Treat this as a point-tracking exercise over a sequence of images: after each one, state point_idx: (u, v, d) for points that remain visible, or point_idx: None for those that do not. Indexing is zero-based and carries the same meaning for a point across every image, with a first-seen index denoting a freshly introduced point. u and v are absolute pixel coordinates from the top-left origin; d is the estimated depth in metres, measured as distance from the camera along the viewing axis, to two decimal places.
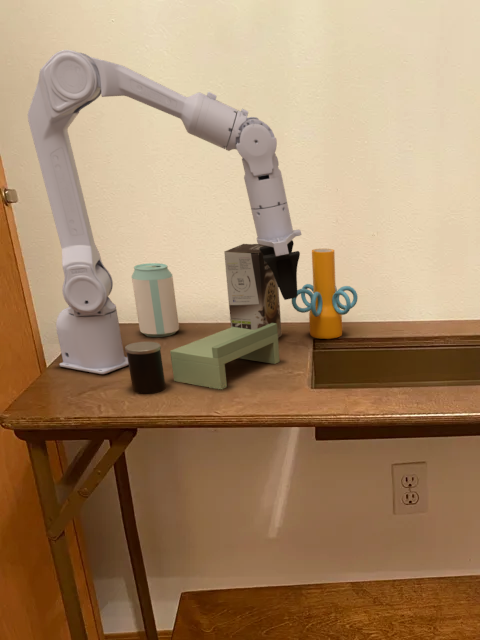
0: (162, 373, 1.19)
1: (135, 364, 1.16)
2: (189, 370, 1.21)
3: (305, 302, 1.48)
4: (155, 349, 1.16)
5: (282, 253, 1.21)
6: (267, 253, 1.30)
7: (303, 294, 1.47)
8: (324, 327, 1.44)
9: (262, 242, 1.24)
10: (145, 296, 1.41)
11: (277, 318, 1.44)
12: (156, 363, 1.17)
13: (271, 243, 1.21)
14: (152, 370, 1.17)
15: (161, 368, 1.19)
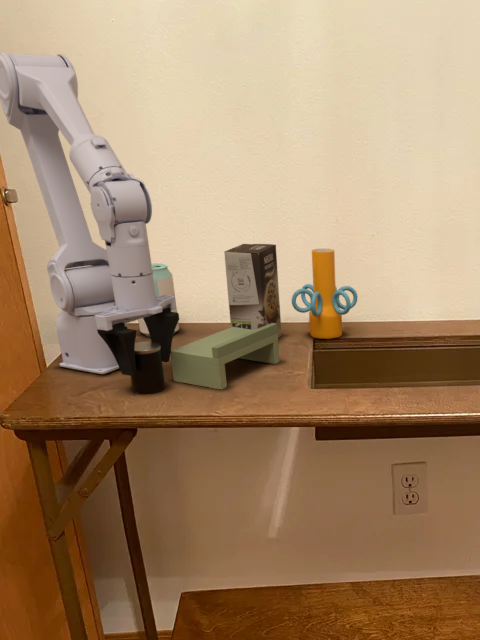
0: (162, 373, 1.19)
1: None
2: (189, 370, 1.21)
3: (305, 302, 1.48)
4: (155, 349, 1.16)
5: (102, 328, 1.09)
6: (147, 320, 1.19)
7: (303, 294, 1.47)
8: (324, 327, 1.44)
9: None
10: None
11: (277, 318, 1.44)
12: (156, 363, 1.17)
13: None
14: (152, 370, 1.17)
15: (161, 368, 1.19)
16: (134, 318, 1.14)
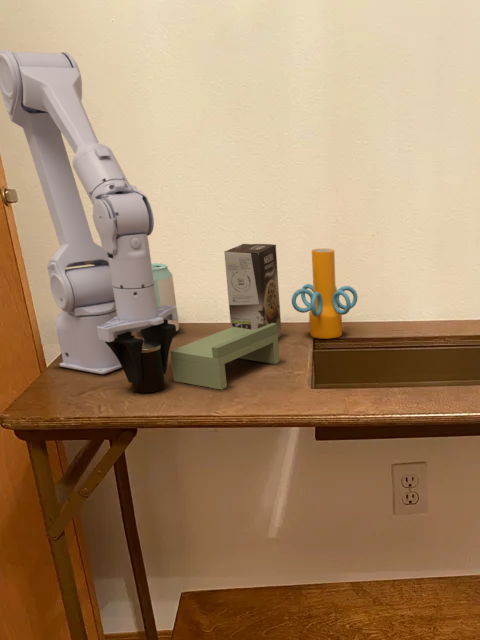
0: (162, 372, 1.19)
1: None
2: (189, 370, 1.21)
3: (305, 302, 1.48)
4: (155, 348, 1.16)
5: (104, 339, 1.10)
6: (144, 332, 1.19)
7: (303, 294, 1.47)
8: (324, 327, 1.44)
9: None
10: None
11: (277, 318, 1.44)
12: (156, 362, 1.17)
13: None
14: (152, 369, 1.17)
15: (161, 367, 1.19)
16: (135, 329, 1.15)
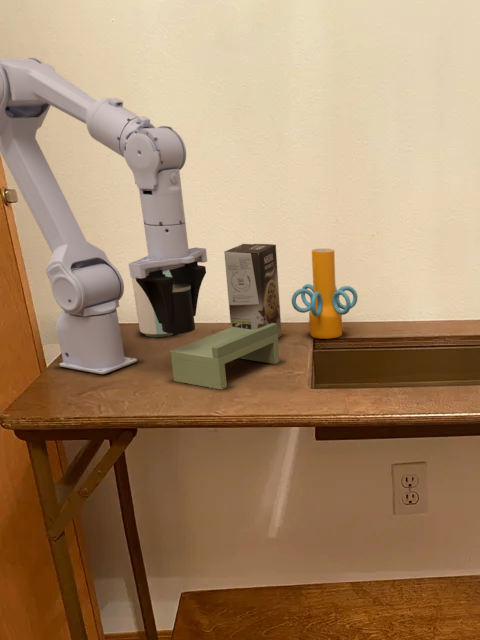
0: (192, 313, 1.19)
1: None
2: (189, 370, 1.21)
3: (305, 302, 1.48)
4: (185, 288, 1.16)
5: (135, 276, 1.10)
6: (174, 273, 1.19)
7: (303, 294, 1.47)
8: (324, 327, 1.44)
9: None
10: (145, 296, 1.41)
11: (277, 318, 1.44)
12: (186, 302, 1.17)
13: (134, 262, 1.11)
14: (182, 309, 1.17)
15: (191, 308, 1.18)
16: (166, 268, 1.14)
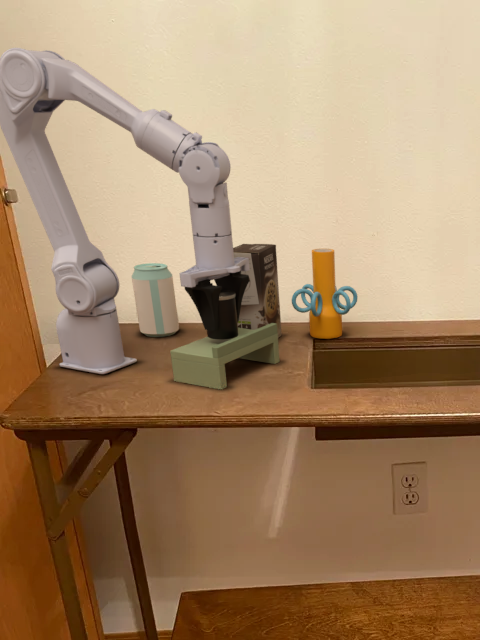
0: (236, 320, 1.24)
1: None
2: (189, 370, 1.21)
3: (305, 302, 1.48)
4: (231, 296, 1.21)
5: (186, 285, 1.15)
6: (219, 282, 1.25)
7: (303, 294, 1.47)
8: (324, 327, 1.44)
9: None
10: (145, 296, 1.41)
11: (277, 318, 1.44)
12: (232, 310, 1.22)
13: None
14: (227, 316, 1.22)
15: (235, 315, 1.24)
16: (213, 277, 1.20)
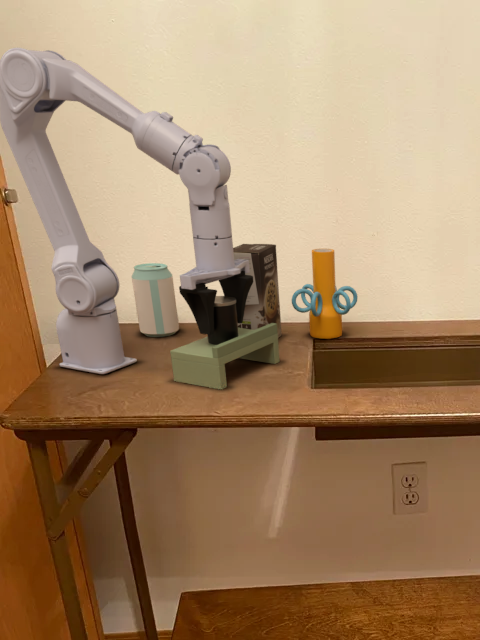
0: (237, 326, 1.25)
1: None
2: (189, 370, 1.21)
3: (305, 302, 1.48)
4: (232, 302, 1.22)
5: (186, 287, 1.16)
6: (223, 282, 1.26)
7: (303, 294, 1.47)
8: (324, 327, 1.44)
9: None
10: (145, 296, 1.41)
11: (277, 318, 1.44)
12: (232, 315, 1.23)
13: (185, 274, 1.16)
14: (228, 322, 1.23)
15: (236, 321, 1.24)
16: (213, 279, 1.20)
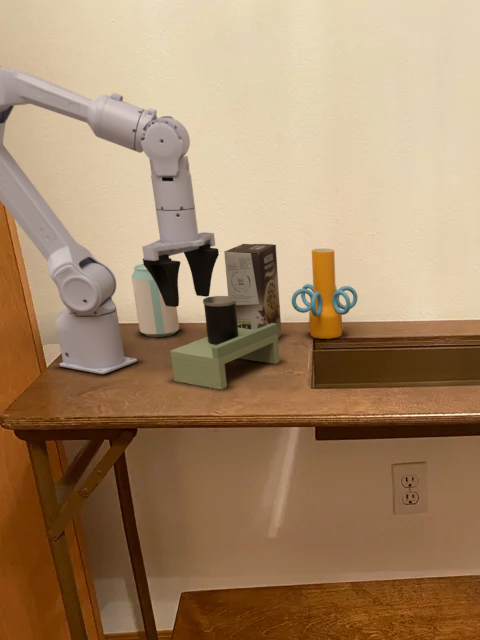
0: (237, 326, 1.25)
1: (212, 316, 1.22)
2: (189, 370, 1.21)
3: (305, 302, 1.48)
4: (232, 302, 1.22)
5: (149, 258, 1.16)
6: (189, 256, 1.26)
7: (303, 294, 1.47)
8: (324, 327, 1.44)
9: None
10: (145, 296, 1.41)
11: (277, 318, 1.44)
12: (232, 315, 1.23)
13: (148, 246, 1.17)
14: (228, 322, 1.23)
15: (236, 321, 1.24)
16: (177, 251, 1.21)
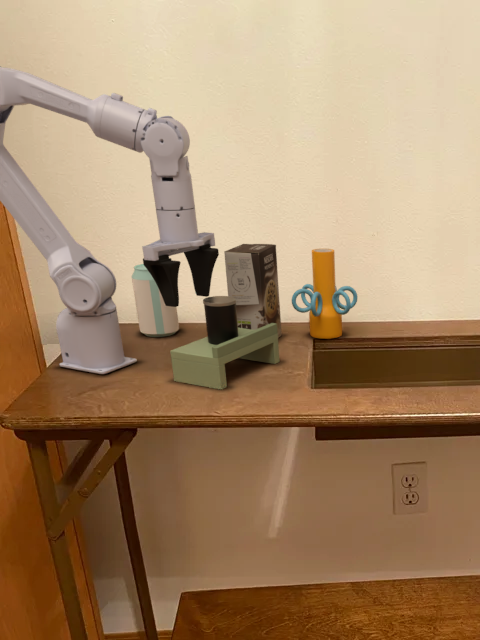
0: (237, 326, 1.25)
1: (212, 316, 1.22)
2: (189, 370, 1.21)
3: (305, 302, 1.48)
4: (232, 302, 1.22)
5: (149, 258, 1.16)
6: (189, 256, 1.26)
7: (303, 294, 1.47)
8: (324, 327, 1.44)
9: None
10: (145, 296, 1.41)
11: (277, 318, 1.44)
12: (232, 315, 1.23)
13: (148, 246, 1.17)
14: (228, 322, 1.23)
15: (236, 321, 1.24)
16: (177, 251, 1.21)
